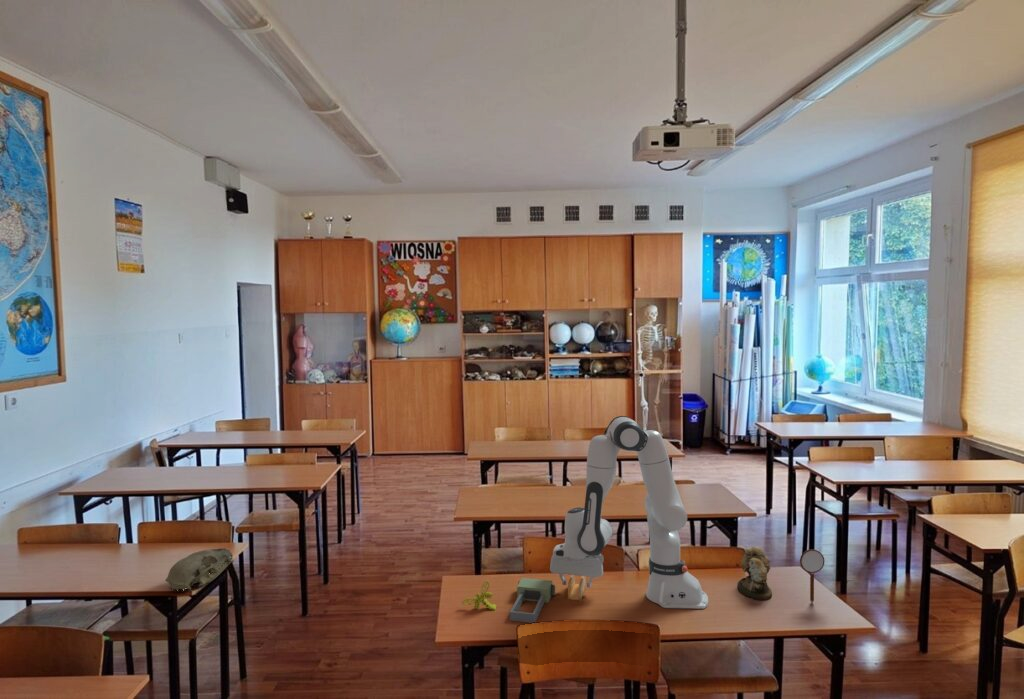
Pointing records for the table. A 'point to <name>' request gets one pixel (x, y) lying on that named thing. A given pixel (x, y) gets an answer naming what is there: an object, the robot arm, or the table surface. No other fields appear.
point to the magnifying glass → (812, 566)
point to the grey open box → (531, 598)
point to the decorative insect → (481, 596)
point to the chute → (576, 588)
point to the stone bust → (755, 574)
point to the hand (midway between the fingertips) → (576, 585)
